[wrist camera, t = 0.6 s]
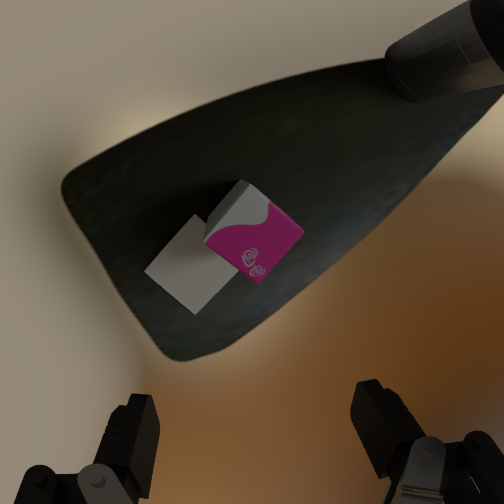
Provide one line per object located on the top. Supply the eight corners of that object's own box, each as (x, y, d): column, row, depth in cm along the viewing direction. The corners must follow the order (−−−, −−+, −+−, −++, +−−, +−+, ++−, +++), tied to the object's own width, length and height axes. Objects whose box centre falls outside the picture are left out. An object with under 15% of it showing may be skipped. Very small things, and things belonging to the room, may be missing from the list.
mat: (194, 213, 33) (194, 214, 32) (246, 261, 35) (247, 261, 34) (144, 270, 34) (143, 271, 33) (195, 313, 36) (195, 314, 35)
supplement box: (205, 219, 33) (199, 240, 22) (240, 177, 32) (251, 178, 21) (245, 251, 34) (258, 287, 23) (279, 211, 34) (309, 229, 23)
